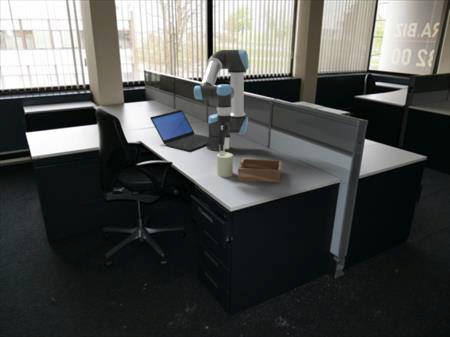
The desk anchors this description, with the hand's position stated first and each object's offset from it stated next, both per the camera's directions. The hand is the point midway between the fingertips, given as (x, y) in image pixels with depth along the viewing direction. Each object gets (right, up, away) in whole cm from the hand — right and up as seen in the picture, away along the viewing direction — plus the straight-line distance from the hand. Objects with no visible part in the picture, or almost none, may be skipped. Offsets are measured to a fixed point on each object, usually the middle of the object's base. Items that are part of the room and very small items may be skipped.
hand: (224, 152), depth 193 cm
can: (0, -12, +5) cm, 13 cm away
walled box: (+20, -13, +2) cm, 24 cm away
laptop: (-29, +10, +64) cm, 71 cm away
